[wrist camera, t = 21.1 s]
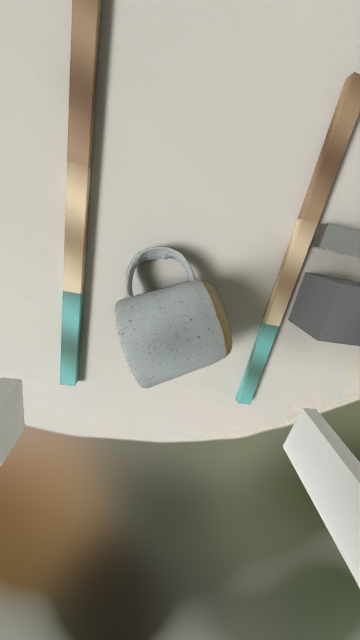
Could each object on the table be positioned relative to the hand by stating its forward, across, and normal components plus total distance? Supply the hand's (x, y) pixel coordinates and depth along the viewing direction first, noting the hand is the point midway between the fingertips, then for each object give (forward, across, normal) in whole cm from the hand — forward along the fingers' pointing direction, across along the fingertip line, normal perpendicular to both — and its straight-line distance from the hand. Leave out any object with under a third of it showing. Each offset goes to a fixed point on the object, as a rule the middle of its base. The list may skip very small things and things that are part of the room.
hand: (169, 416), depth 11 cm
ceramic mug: (+14, 0, +1) cm, 14 cm away
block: (+11, +16, +6) cm, 20 cm away
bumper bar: (+14, +15, +10) cm, 23 cm away
